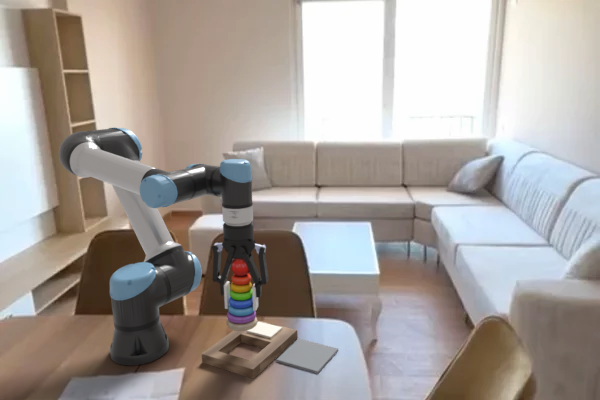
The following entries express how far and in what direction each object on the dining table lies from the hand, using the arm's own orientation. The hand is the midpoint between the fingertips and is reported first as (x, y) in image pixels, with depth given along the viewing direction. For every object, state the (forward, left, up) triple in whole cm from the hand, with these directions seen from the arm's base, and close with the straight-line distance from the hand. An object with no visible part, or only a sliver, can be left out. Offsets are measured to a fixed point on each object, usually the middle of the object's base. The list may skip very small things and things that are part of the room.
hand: (241, 307), depth 128 cm
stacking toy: (0, 0, -5) cm, 5 cm away
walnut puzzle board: (0, +3, -14) cm, 14 cm away
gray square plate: (+15, +7, -14) cm, 22 cm away
